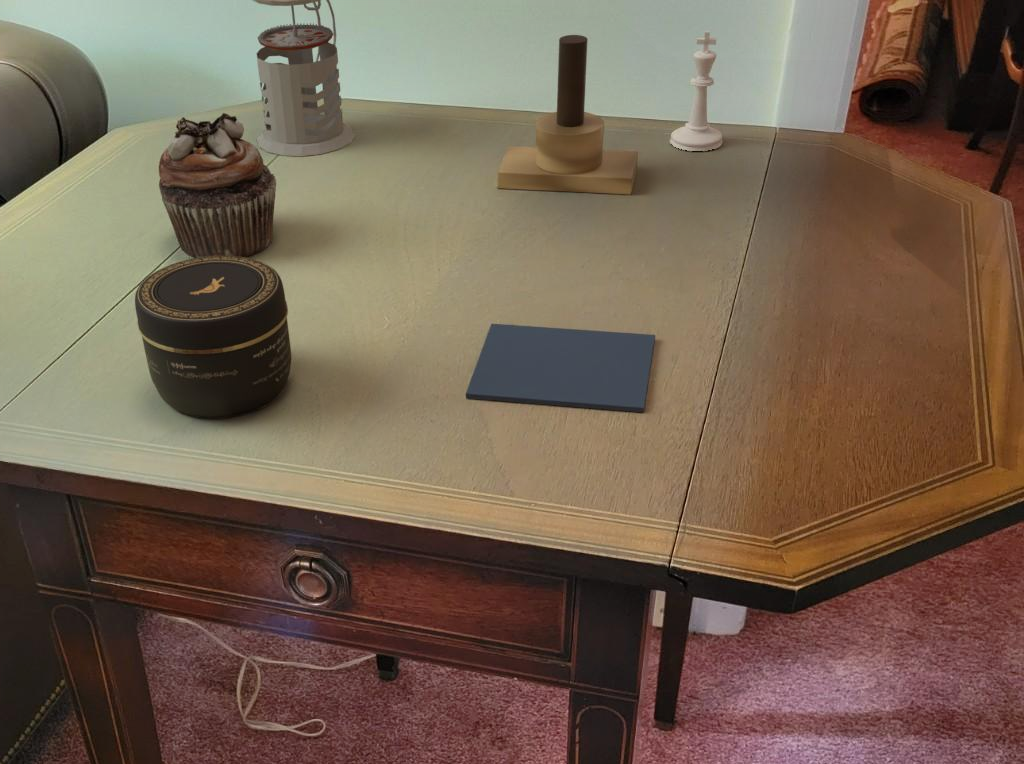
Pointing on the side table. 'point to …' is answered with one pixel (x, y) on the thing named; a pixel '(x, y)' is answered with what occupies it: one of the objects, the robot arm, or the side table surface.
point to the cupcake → (217, 190)
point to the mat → (564, 367)
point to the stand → (569, 141)
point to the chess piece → (699, 106)
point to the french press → (300, 88)
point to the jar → (215, 335)
